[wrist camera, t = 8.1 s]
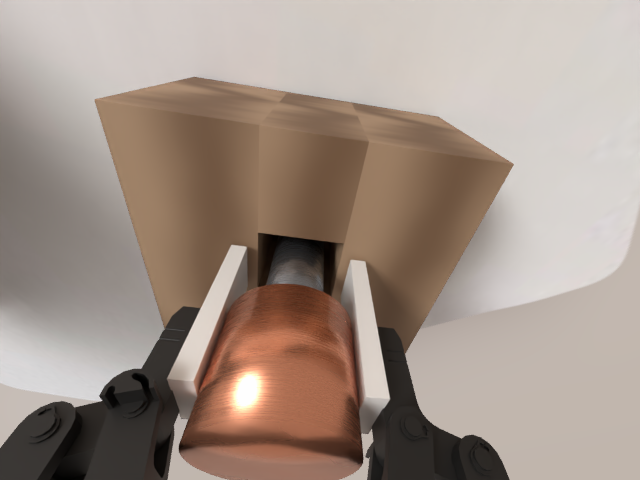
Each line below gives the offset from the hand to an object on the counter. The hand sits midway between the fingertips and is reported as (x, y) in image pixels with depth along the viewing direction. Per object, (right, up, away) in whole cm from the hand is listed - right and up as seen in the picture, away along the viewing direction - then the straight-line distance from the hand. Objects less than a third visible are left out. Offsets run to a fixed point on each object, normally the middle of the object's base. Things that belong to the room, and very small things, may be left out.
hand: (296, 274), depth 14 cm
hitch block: (0, +5, +8) cm, 9 cm away
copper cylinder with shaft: (0, +2, +2) cm, 3 cm away
